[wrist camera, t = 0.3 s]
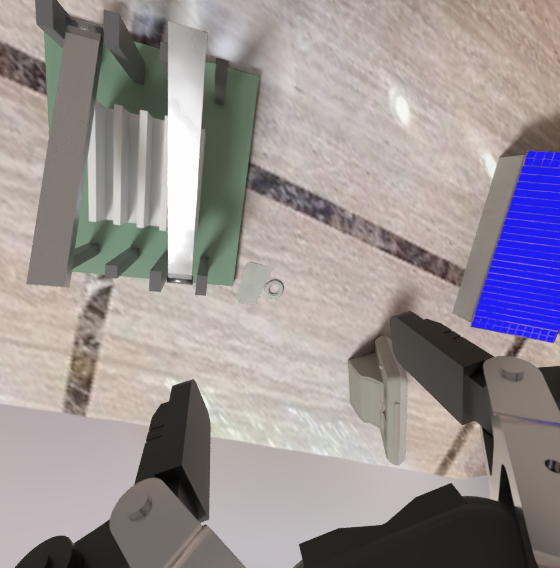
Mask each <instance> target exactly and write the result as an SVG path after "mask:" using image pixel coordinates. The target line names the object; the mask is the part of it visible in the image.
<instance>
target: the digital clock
mask: <svg viewBox="0 0 560 568" xmlns="http://www.w3.org/2000/svg"><path fill="white" fill-rule="evenodd" d="M348 365H349V385H350V404H351V405H352V407H353V408H354V410H355V412H356V413H357V415H358V416H359V418H360V419H361V420H362V421H363V422H365V423H370V424H373V425H375V426H376V427H378V428H380V431H381V435H382V440H383V444H384V449H385V453H386V457H387V459H388V460H389V461H390V462H391V463H392V464H394V465H400V464H401V463H402V462H403V461H404V460H405V452H406V420H407V376H406V373H405V371H404V368H403V367H402V366H401V365H400V363H399V362H398V361H397V359H396V357H395V355H394V352H393V348H392V340H391V339H390V338H388V337H387V336H385V335H382V336H380V337H378V338H377V339H376V340H375V353H374V354H370V355H365V356H361V357H357V358H353V359H349V360H348Z"/></svg>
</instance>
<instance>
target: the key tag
mask: <svg viewBox="0 0 560 568" xmlns="http://www.w3.org/2000/svg"><path fill="white" fill-rule="evenodd" d="M272 269H273V268H272V267H268V266H264V265H260V264H256V263H252V262H250V263H248V264H247V265H246V267H245V269H244V273H243V276H242V280H241V284H240V287H239V291H238V294H237V300H238V302H239V303H242V304H247V305H252V306H255V305H256V303H257V301H258V298H259V296H260V294H261V292H262V290H263V288H264V292H265V295H266V296H267V297H269V298H272V299H275V298H278V297H280V296H281V295H282V293H283V289H284V287H283V284H282V283H281V282H280V281H278V280H271V281H269V282H268V283H266V282H267V280H268V278H269V276H270V274H271V272H272ZM265 284H266V285H265ZM272 285H277V286H278V287H279V291H278V292H277V293H276V294H271V293H270V291H269V289H270V287H271V286H272ZM264 286H265V287H264Z"/></svg>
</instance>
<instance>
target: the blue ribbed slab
mask: <svg viewBox="0 0 560 568" xmlns="http://www.w3.org/2000/svg"><path fill="white" fill-rule="evenodd" d="M453 314H455V315H457V316H459V317H461V318H463V319H465V320H467V321H469V322H471V327H475V328H480V329H485V330H490V331H495V332H500V333H505V334H510V335H515V336H520V337H525V338H530V339H535V340H540V341H545V342H550V343H554V341H555V339H556V337H557V334H558V332H559V329H560V152H548V151H531V150H527V153H526V155H519V156H510V157H501V158H499V160H498V163H497V167H496V170H495V173H494V177H493V180H492V183H491V186H490V190H489V193H488V196H487V200H486V203H485V206H484V210H483V213H482V216H481V220H480V223H479V226H478V230H477V233H476V236H475V240H474V243H473V246H472V250H471V253H470V256H469V260H468V263H467V266H466V269H465V273H464V276H463V279H462V283H461V286H460V289H459V293H458V296H457V299H456V303H455V306H454V309H453Z"/></svg>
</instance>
